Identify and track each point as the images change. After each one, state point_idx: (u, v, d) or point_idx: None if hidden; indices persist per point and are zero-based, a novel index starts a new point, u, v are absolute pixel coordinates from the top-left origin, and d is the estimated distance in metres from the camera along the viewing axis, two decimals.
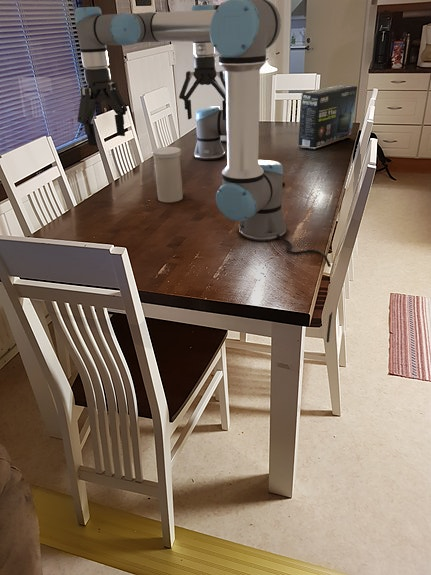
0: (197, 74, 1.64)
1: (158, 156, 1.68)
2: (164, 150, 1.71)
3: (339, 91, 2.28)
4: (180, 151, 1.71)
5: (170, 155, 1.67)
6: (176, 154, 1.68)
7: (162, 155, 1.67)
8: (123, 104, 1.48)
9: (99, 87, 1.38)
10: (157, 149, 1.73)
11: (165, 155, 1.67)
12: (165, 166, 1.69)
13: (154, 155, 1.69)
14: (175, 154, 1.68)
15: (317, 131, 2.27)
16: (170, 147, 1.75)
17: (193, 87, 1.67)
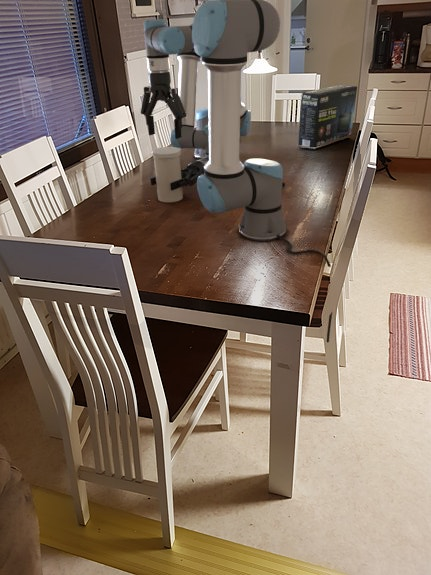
0: None
1: (158, 156, 1.68)
2: (164, 150, 1.71)
3: (339, 91, 2.28)
4: (180, 151, 1.71)
5: (170, 155, 1.67)
6: (176, 154, 1.68)
7: (162, 155, 1.67)
8: None
9: None
10: (157, 149, 1.73)
11: (165, 155, 1.67)
12: (165, 166, 1.69)
13: (154, 155, 1.69)
14: (175, 154, 1.68)
15: (317, 131, 2.27)
16: (170, 147, 1.75)
17: None
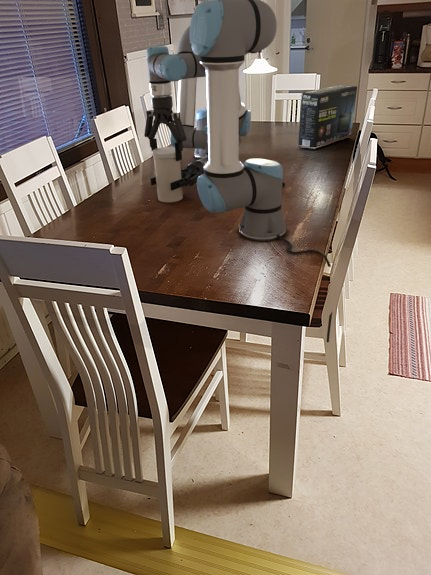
0: None
1: (158, 156, 1.68)
2: (164, 150, 1.71)
3: (339, 91, 2.28)
4: None
5: (170, 155, 1.67)
6: None
7: (162, 155, 1.67)
8: None
9: None
10: (157, 149, 1.73)
11: (165, 155, 1.67)
12: (165, 166, 1.69)
13: (154, 155, 1.69)
14: None
15: (317, 131, 2.27)
16: (170, 147, 1.75)
17: None
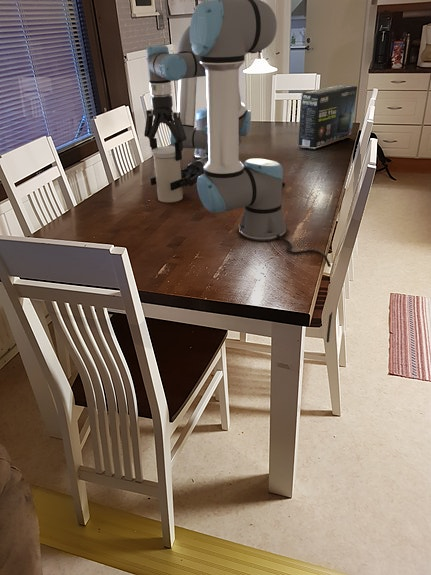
0: None
1: None
2: (165, 150, 1.70)
3: (339, 91, 2.28)
4: None
5: None
6: None
7: None
8: None
9: None
10: (158, 152, 1.69)
11: None
12: (165, 166, 1.69)
13: (171, 155, 1.67)
14: None
15: (317, 131, 2.27)
16: (157, 148, 1.73)
17: None
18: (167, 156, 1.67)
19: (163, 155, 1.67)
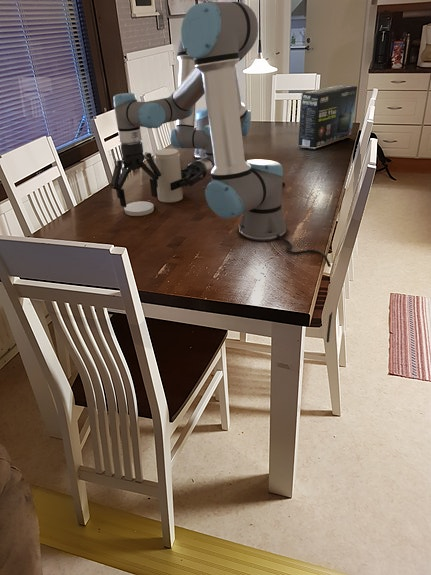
0: None
1: None
2: (140, 206, 1.69)
3: (339, 91, 2.28)
4: None
5: None
6: None
7: None
8: None
9: None
10: (143, 209, 1.67)
11: None
12: (165, 166, 1.69)
13: (153, 207, 1.71)
14: None
15: (317, 131, 2.27)
16: (129, 209, 1.67)
17: None
18: (153, 209, 1.70)
19: (152, 209, 1.68)
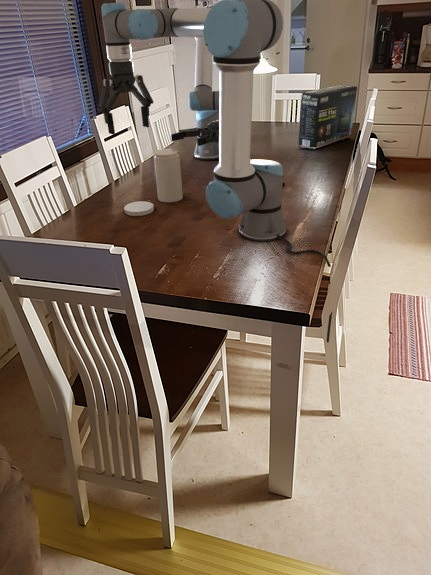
0: None
1: None
2: (140, 206, 1.69)
3: (339, 91, 2.28)
4: None
5: None
6: None
7: None
8: None
9: None
10: (143, 209, 1.67)
11: None
12: (165, 166, 1.69)
13: (153, 207, 1.71)
14: None
15: (317, 131, 2.27)
16: (129, 209, 1.67)
17: None
18: (153, 209, 1.70)
19: (152, 209, 1.68)
